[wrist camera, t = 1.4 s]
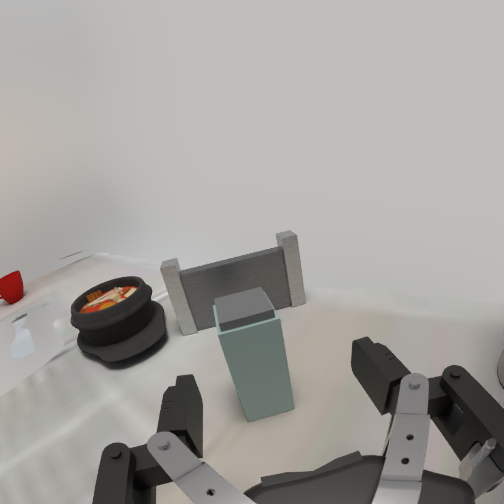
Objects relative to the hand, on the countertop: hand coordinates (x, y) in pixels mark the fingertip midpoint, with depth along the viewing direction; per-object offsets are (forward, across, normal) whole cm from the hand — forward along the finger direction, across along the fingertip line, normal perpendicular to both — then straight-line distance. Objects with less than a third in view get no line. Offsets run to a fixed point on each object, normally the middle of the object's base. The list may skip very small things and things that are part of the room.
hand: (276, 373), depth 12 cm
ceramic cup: (+66, +90, +15) cm, 113 cm away
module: (+11, 0, +14) cm, 18 cm away
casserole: (+33, +24, +14) cm, 43 cm away
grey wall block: (+32, +1, +13) cm, 34 cm away
